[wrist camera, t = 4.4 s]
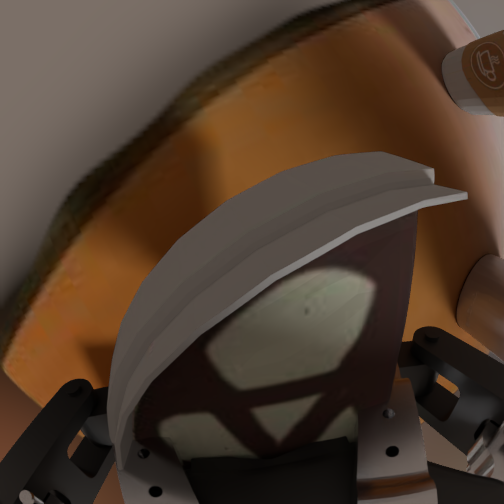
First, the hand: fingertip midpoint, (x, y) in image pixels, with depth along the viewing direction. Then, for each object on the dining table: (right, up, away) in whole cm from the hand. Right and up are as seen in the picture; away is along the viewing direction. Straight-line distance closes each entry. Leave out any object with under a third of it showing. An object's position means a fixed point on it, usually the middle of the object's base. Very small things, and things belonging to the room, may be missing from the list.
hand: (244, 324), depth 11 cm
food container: (-1, +1, +3) cm, 3 cm away
